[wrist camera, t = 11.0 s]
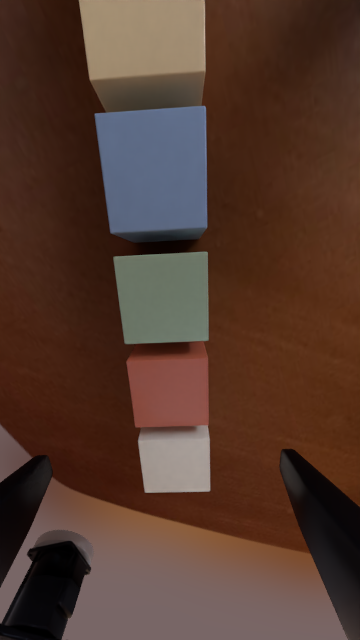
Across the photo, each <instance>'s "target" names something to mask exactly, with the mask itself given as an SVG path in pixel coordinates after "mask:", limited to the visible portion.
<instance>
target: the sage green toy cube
mask: <svg viewBox="0 0 360 640" xmlns="http://www.w3.org/2000/svg"><path fill="white" fill-rule="evenodd" d="M113 260H114V267H115V275H116V282H117V290H118V297H119V305H120V312H121V320H122V327H123V335H124V342H125V344H140V343H165V342H190V341H208V340H209V334H208V253H207V252H192V253H173V254H153V255H134V256H115V257H113Z"/></svg>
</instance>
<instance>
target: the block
mask: <svg viewBox="0 0 360 640" xmlns="http://www.w3.org/2000/svg"><path fill="white" fill-rule="evenodd" d="M79 5H80V12H81V20H82V27H83V35H84V42H85V50H86V57H87V65H88V72H89V80H90V82H91V84H92V86H93V88H94V90H95V92H96V94H97V95H98V97H99V99H100V101H101V103H102V105H103V107H104V109H105V111H106V113H110V112H124V111H138V110H152V109H166V108H180V107H193V106H202V97H203V89H204V80H205V72H206V60H205V0H79Z"/></svg>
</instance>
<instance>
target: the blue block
mask: <svg viewBox="0 0 360 640" xmlns="http://www.w3.org/2000/svg"><path fill="white" fill-rule="evenodd" d="M95 122H96V130H97V137H98V145H99V152H100V160H101V167H102V175H103V182H104V190H105V197H106V205H107V212H108V220H109V227H110V233H111V234H114V235H116V236H119V237H121V238H124V239H126V240H129V241H131V242H134V243H137V242H156V241H174V240H193V239H199V238H200V237H201V236H202V234H203V233H204V231H205V230H206V228H207V153H206V107H205V106H193V107H180V108H166V109H152V110H138V111H124V112H110V113H96V114H95Z"/></svg>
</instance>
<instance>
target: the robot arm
mask: <svg viewBox="0 0 360 640" xmlns="http://www.w3.org/2000/svg"><path fill="white" fill-rule="evenodd" d="M279 466H280V472H281V475H282V478H283V481H284V484H285V487H286V490H287V493H288V496H289V499H290V502H291V505H292V508H293V510H294V513H295V516H296V519H297V522H298V525H299V527H300V530H301V532H302V534H303V537H304V539H305V541H306V544H307V546H308V548H309V551H310V553H311V555H312V557H313V560H314V562H315V564H316V567H317V569H318V571H319V574H320V576H321V578H322V581H323V583H324V585H325V588H326V590H327V592H328V595H329V597H330V599H331V601H332V604H333V606H334V608H335V611H336V613H337V615H338V617H339V620H340V622H341V625H342V627H343V629H344V631H345V634H346V636H347V638H348V640H360V507H359V506H358V505H357V504H356V503H354V502H353V501H352V500H351V499H350V498H349V497H348V496H346V495H345V494H344V493H343V492H342V491H341V490H340V489H338V488H337V487H336V486H335V485H334V484H333V483H332V482H330V481H329V480H328V479H327V478H326V477H325V476H324V475H322V474H321V473H320V472H319V471H318V470H317V469H316V468H314V467H313V466H312V465H311V464H310V463H309V462H308V461H306V460H305V459H304V458H303V457H302V456H301V455H300V454H298V453H297V452H296V451H295V450H293V449H282V451H281V456H280V465H279ZM52 474H53V470H52V466H51V463H50V460H49V457H48V456H47V455H37V456H35V457H33V458H32V459H31V460H30V461H28V462H27V463H26V464H24V465H23V466H22V467H20V468H19V469H18V470H16V471H15V472H14V473H12V474H11V475H10V476H8V477H7V478H6V479H4V480H3V481H2V482H1V483H0V587H1V585H2V583H3V581H4V579H5V577H6V575H7V573H8V571H9V569H10V567H11V565H12V563H13V561H14V559H15V557H16V556H17V554H18V552H19V550H20V548H21V546H22V544H23V542H24V540H25V538H26V536H27V534H28V532H29V530H30V527H31V525H32V523H33V521H34V518H35V516H36V513H37V511H38V509H39V506H40V504H41V502H42V499H43V497H44V495H45V492H46V490H47V487H48V485H49V483H50V480H51V478H52ZM27 556H28V557H29V558H30V560H31V561H32V564H31V565H30V568H29V570H28V571H27V573H26V575H25V577H24V579H23V582H22V584H21V585H20V587H19V589H18V592H17V593H16V595H15V597H14V600H13V601H12V603H11V605H10V607H9V609H8V611H7V613H6V615H5V617H4V619H3V621H2V623H1V624H0V640H61V639H62V636H63V633H64V630H65V627H66V624H67V621H68V618H71V616H72V614H73V611H74V608H75V605H76V601H77V598H78V595H79V592H80V589H81V585H82V582H83V579H84V576H85V575H89V574H90V572H91V567H90V565H89V564H88V563H87V561H86V560H85V558H84V557H83V555H82V554H81V553H80V551H79V550H78V548H77V547H76V545H75V544H74V543H73V542H72V541H64V542H59V543H54V544H49V545H44V546H40V547H35V548H30V549H29V551H28V552H27Z"/></svg>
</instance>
